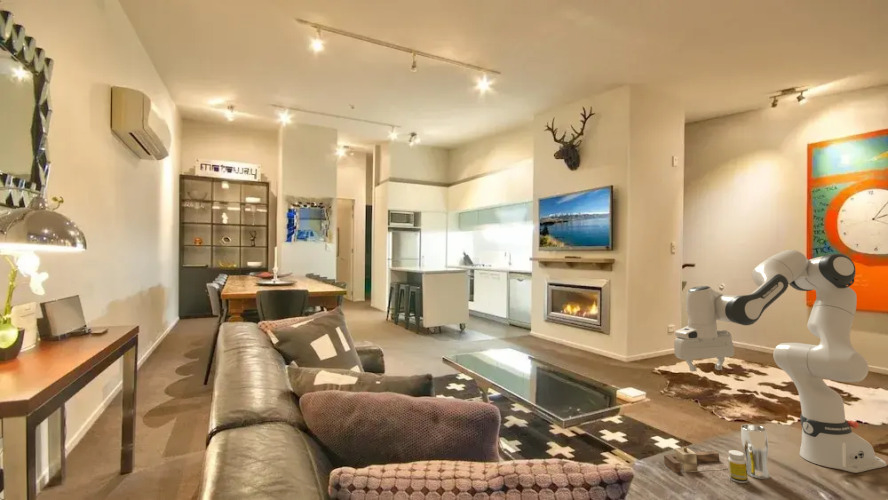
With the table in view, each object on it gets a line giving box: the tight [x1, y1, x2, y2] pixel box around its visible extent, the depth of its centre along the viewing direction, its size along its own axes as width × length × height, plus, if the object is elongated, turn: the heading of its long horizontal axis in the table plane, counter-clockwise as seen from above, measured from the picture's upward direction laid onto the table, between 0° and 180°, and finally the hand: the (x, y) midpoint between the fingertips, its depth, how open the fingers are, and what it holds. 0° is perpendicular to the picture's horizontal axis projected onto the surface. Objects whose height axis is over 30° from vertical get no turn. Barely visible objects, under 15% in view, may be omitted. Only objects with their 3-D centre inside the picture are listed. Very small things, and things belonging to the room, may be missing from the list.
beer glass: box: [740, 423, 770, 480], centre depth 131 cm, size 7×7×15 cm
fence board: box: [663, 450, 724, 473], centre depth 139 cm, size 20×8×3 cm, turn 92°
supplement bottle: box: [727, 449, 748, 484], centre depth 129 cm, size 5×5×8 cm
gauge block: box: [674, 446, 698, 472], centre depth 138 cm, size 4×4×7 cm
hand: (705, 370), depth 144 cm, fingers open, 8 cm apart
